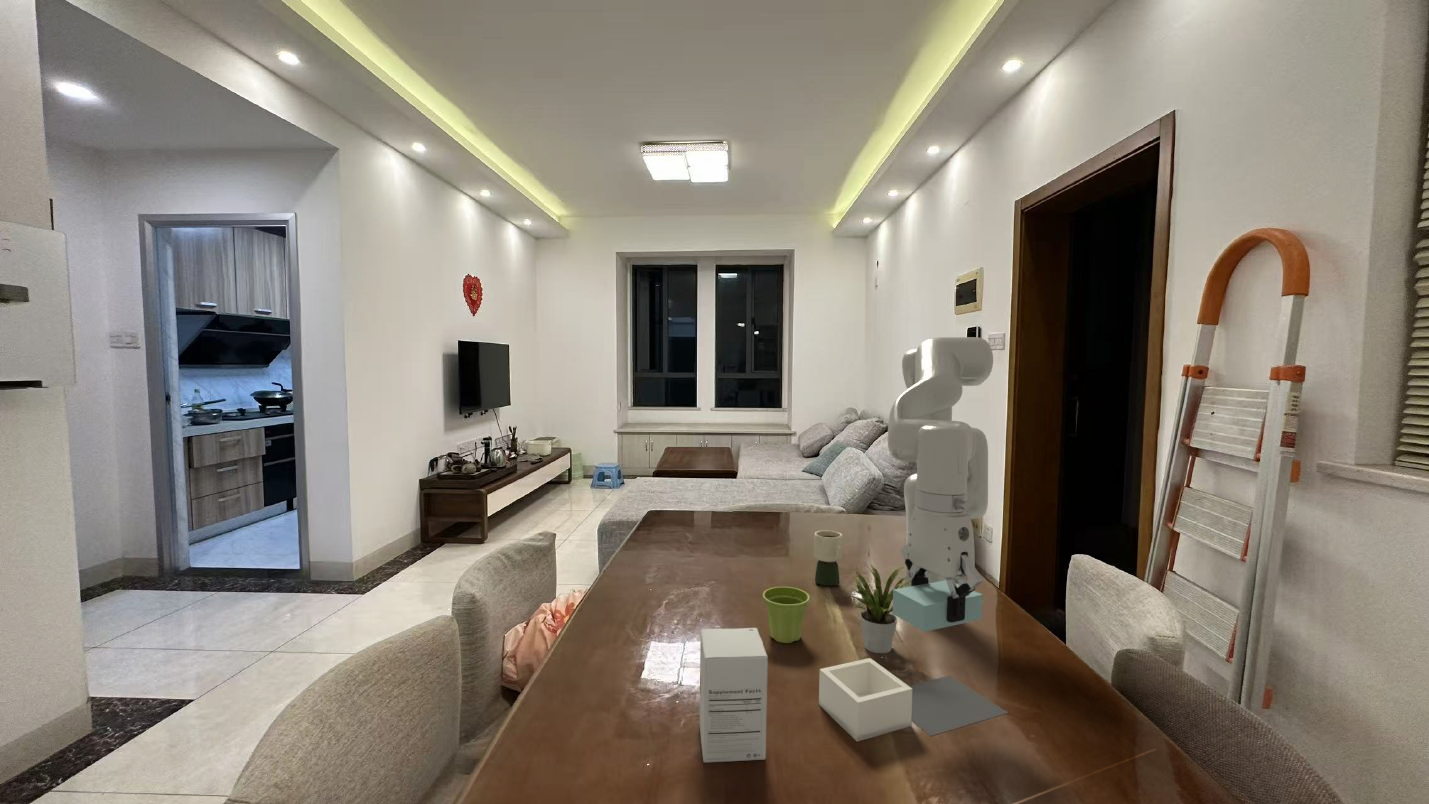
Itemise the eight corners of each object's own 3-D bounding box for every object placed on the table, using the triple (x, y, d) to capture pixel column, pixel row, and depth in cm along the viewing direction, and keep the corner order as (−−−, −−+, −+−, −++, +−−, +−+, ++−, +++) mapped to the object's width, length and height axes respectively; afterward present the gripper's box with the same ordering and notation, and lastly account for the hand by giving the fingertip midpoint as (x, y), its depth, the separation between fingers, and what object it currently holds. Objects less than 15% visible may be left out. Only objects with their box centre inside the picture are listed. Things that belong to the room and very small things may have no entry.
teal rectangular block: (947, 602, 97) (948, 579, 97) (981, 619, 90) (982, 594, 90) (892, 613, 92) (893, 589, 92) (924, 631, 86) (925, 605, 85)
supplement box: (698, 723, 86) (699, 627, 86) (756, 721, 87) (758, 626, 86) (701, 764, 77) (703, 657, 76) (766, 761, 78) (768, 655, 77)
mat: (950, 676, 101) (950, 675, 101) (1008, 713, 90) (1008, 712, 90) (877, 694, 95) (877, 693, 95) (930, 737, 84) (930, 736, 84)
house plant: (921, 638, 116) (924, 559, 115) (923, 671, 103) (926, 583, 102) (850, 627, 120) (852, 551, 119) (843, 657, 107) (845, 572, 106)
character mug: (851, 590, 141) (852, 538, 141) (826, 593, 139) (827, 541, 138) (827, 575, 152) (829, 527, 151) (804, 578, 149) (805, 529, 149)
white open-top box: (869, 692, 95) (870, 658, 95) (911, 727, 86) (912, 688, 86) (818, 705, 91) (819, 669, 91) (856, 742, 82) (858, 702, 82)
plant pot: (807, 650, 110) (808, 606, 109) (759, 645, 112) (760, 601, 111) (809, 629, 119) (810, 588, 119) (764, 624, 121) (765, 584, 120)
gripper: (1004, 512, 84) (999, 629, 85) (919, 489, 100) (915, 588, 101) (967, 516, 81) (962, 638, 82) (885, 492, 97) (882, 594, 98)
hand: (936, 610), depth 91 cm, fingers closed on teal rectangular block, 7 cm apart
